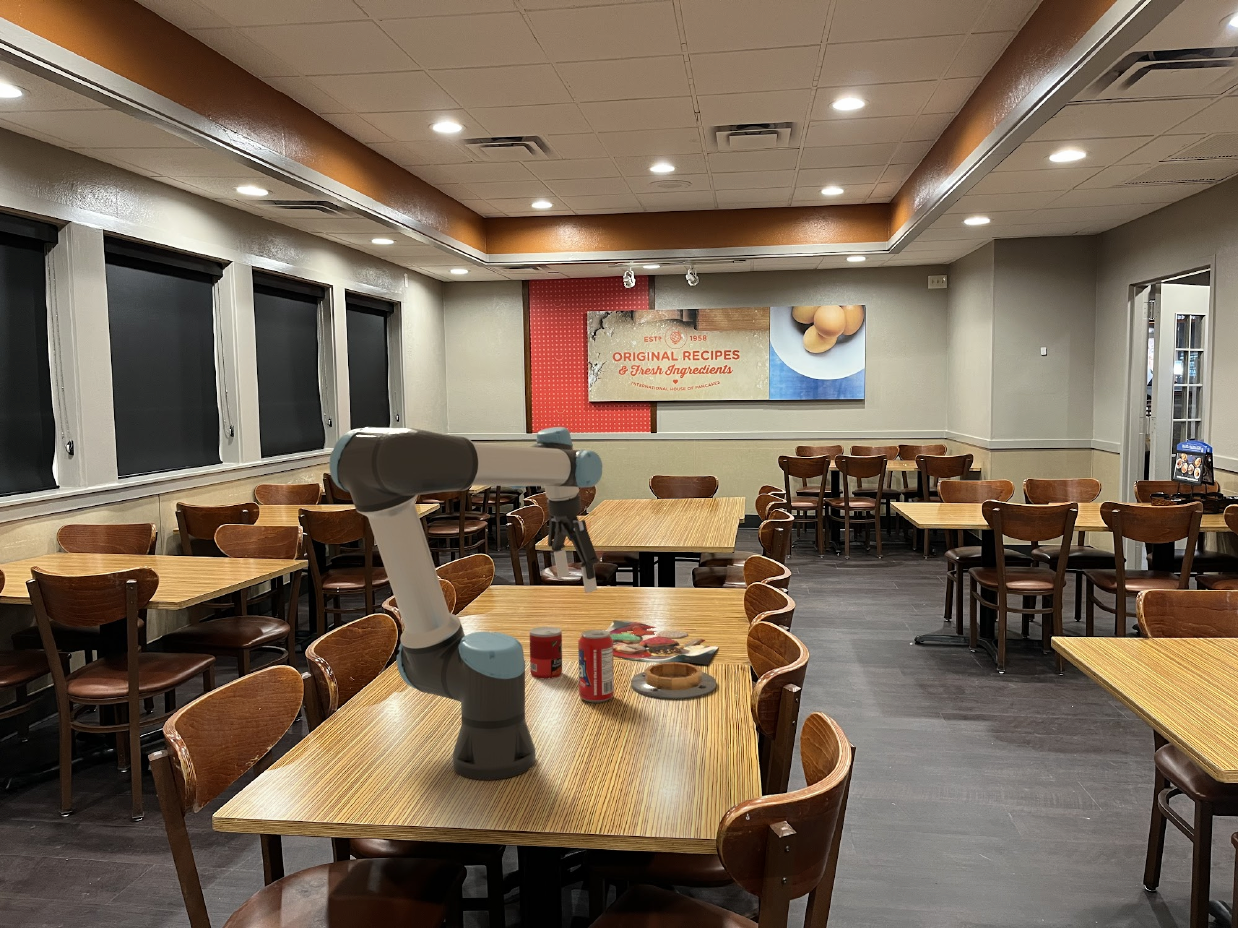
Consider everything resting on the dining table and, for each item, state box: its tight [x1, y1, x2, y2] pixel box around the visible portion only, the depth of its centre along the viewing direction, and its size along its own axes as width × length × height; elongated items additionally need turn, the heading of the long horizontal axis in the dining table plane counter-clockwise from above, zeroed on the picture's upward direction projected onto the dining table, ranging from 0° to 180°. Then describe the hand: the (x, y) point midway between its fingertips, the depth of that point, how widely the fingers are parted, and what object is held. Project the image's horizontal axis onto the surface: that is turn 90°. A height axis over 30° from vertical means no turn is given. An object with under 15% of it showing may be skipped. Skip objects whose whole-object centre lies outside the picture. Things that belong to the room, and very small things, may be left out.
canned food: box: [529, 626, 563, 680], centre depth 212 cm, size 8×8×11 cm
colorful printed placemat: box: [605, 619, 719, 665], centre depth 239 cm, size 35×35×2 cm
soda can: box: [577, 629, 615, 704], centre depth 193 cm, size 8×8×15 cm
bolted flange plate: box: [630, 661, 717, 700], centre depth 203 cm, size 20×20×4 cm
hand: (577, 583), depth 198 cm, fingers open, 13 cm apart
